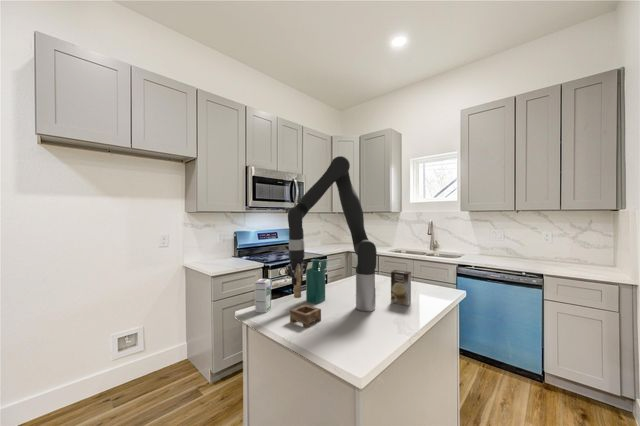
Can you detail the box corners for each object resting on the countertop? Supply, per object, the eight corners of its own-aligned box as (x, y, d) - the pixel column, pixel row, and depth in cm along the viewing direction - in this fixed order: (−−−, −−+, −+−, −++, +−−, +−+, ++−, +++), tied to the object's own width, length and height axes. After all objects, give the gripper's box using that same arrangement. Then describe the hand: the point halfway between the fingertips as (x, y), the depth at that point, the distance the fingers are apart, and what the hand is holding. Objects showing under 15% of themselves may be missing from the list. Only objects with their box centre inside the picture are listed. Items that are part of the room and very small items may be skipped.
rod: (297, 295, 131) (296, 262, 131) (302, 296, 129) (301, 263, 129) (292, 297, 128) (291, 264, 128) (297, 298, 126) (296, 264, 126)
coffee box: (390, 302, 137) (390, 271, 138) (393, 299, 143) (393, 269, 143) (408, 305, 133) (408, 273, 133) (411, 302, 138) (411, 271, 138)
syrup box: (266, 312, 124) (266, 281, 124) (254, 312, 125) (254, 281, 125) (271, 308, 130) (271, 278, 130) (259, 307, 131) (259, 278, 131)
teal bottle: (304, 301, 141) (304, 259, 141) (314, 296, 148) (313, 257, 148) (319, 304, 135) (319, 261, 135) (328, 300, 142) (328, 259, 142)
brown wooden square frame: (305, 315, 121) (304, 304, 121) (321, 320, 115) (320, 309, 115) (290, 322, 113) (290, 310, 113) (306, 328, 107) (306, 315, 107)
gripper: (291, 251, 121) (292, 288, 121) (312, 247, 132) (312, 282, 132) (280, 249, 126) (281, 286, 125) (301, 246, 136) (301, 280, 136)
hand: (297, 284), depth 129 cm, fingers closed on rod, 3 cm apart
